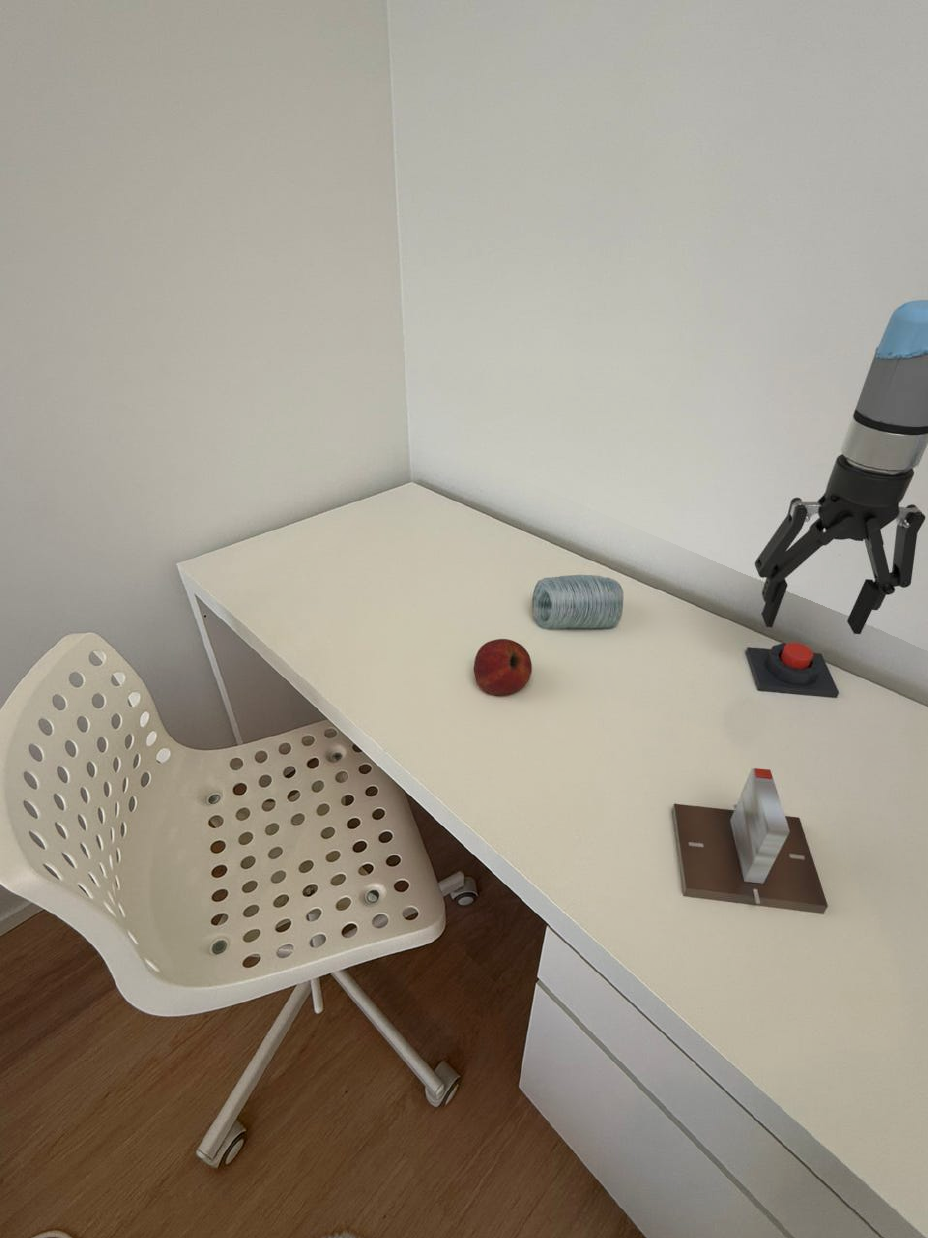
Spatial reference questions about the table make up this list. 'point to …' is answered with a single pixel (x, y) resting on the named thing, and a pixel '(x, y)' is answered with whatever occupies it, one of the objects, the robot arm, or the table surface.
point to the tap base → (718, 870)
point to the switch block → (790, 674)
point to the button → (796, 655)
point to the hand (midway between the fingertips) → (809, 624)
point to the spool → (577, 602)
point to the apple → (502, 667)
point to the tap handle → (758, 825)
